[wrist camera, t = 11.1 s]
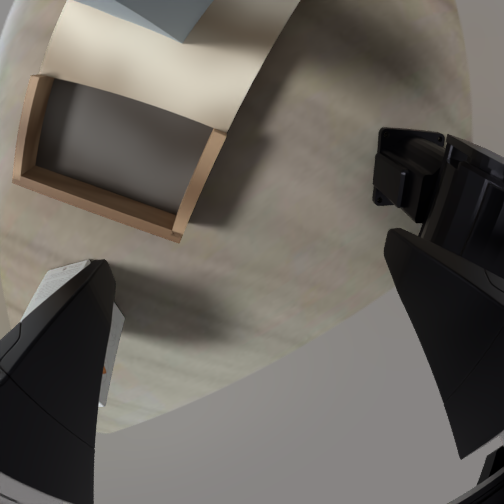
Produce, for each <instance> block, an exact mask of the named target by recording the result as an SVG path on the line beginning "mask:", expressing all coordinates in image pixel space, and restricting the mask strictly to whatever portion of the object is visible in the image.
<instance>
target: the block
mask: <svg viewBox="0 0 504 504" xmlns="http://www.w3.org/2000/svg"><path fill="white" fill-rule="evenodd" d="M74 1H77V2H79V3H82V4H85V5H88V6H90V7H93V8H95V9H98V10H100V11H103V12H105V13H108V14H110V15H112V16H115V17H118V18H120V19H123V20H126V21H129V22H132V23H134V24H137V25H140V26H142V27H145V28H147V29H150V30H152V31H155V32H157V33H159V34H162V35H164V36H166V37H169V38H171V39H173V40H175V41H177V42H180V43H183V42H184V40H185V39H186V37H187V36H188V34H189V33H190V32H191V30H192V29H193V27H194V26H195V25H196V23H197V22H198V20H199V19H200V18H201V16H202V15H203V14H204V12H205V11H206V10H207V8H208V7H209V6H210V4H211V3H212V2H213V1H214V0H74Z"/></svg>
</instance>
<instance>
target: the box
mask: <svg viewBox="0 0 504 504" xmlns="http://www.w3.org/2000/svg"><path fill="white" fill-rule="evenodd" d="M299 2H300V0H214V1H213V2H212V3H211V4H210V6H209V7H208V8H207V10H206V11H205V12H204V14H203V15H202V16H201V18H200V19H199V20H198V22H197V23H196V25H195V26H194V27H193V29H192V30H191V32H190V33H189V34H188V36H187V37H186V39H185V40H184V42H183V43H180V42H177V41H175V40H173V39H171V38H169V37H166V36H164V35H162V34H159V33H157V32H155V31H152V30H150V29H147V28H145V27H142V26H140V25H137V24H134V23H132V22H129V21H126V20H123V19H120V18H118V17H115V16H112V15H110V14H108V13H105V12H103V11H100V10H98V9H95V8H93V7H90V6H88V5H85V4H82V3H79V2H77V1H74V0H67V2H66V4H65V6H64V8H63V10H62V13H61V15H60V17H59V19H58V22H57V24H56V27H55V29H54V32H53V34H52V37H51V39H50V42H49V45H48V47H47V50H46V53H45V56H44V59H43V62H42V65H41V68H40V72H39V74H38V75H32V76H31V77H30V80H29V84H28V88H27V92H26V96H25V100H24V104H23V109H22V114H21V119H20V124H19V130H18V136H17V143H16V150H15V158H14V168H13V179H12V183H14V184H17V185H19V186H22V187H24V188H27V189H30V190H32V191H35V192H38V193H40V194H43V195H46V196H48V197H51V198H54V199H57V200H59V201H62V202H65V203H67V204H70V205H73V206H76V207H78V208H81V209H84V210H86V211H89V212H92V213H95V214H97V215H100V216H103V217H106V218H109V219H111V220H114V221H117V222H120V223H122V224H125V225H128V226H131V227H134V228H137V229H139V230H142V231H145V232H148V233H151V234H153V235H156V236H159V237H162V238H165V239H168V240H171V241H173V242H176V243H180V241H181V238H182V236H183V233H184V231H185V228H186V226H187V224H188V221H189V219H190V216H191V214H192V212H193V209H194V207H195V205H196V202H197V200H198V198H199V195H200V193H201V191H202V189H203V186H204V184H205V182H206V180H207V178H208V175H209V173H210V171H211V169H212V167H213V164H214V162H215V160H216V158H217V156H218V154H219V152H220V149H221V147H222V145H223V143H224V141H225V139H226V137H227V131H228V129H229V127H230V125H231V123H232V121H233V119H234V117H235V115H236V113H237V111H238V109H239V107H240V105H241V103H242V101H243V99H244V97H245V96H246V94H247V92H248V90H249V88H250V86H251V84H252V82H253V80H254V79H255V77H256V75H257V73H258V71H259V69H260V68H261V66H262V64H263V62H264V60H265V59H266V57H267V55H268V53H269V52H270V50H271V48H272V46H273V45H274V43H275V41H276V39H277V38H278V36H279V34H280V33H281V31H282V29H283V28H284V26H285V24H286V23H287V21H288V19H289V18H290V16H291V14H292V13H293V11H294V10H295V8H296V6H297V5H298V3H299Z"/></svg>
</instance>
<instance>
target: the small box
mask: <svg viewBox="0 0 504 504" xmlns="http://www.w3.org/2000/svg"><path fill="white" fill-rule="evenodd" d="M90 263H91V262H90V260H85V261H81V262H77V263H74V264H70V265H66V266H63V267H59V268H55V269H52V270H48V272H47V273H46V275H45V277H44V278H43V280H42V282H41V283H40V285H39V287H38V289H37V290H36V292H35V294H34V296H33V298H32V299H31V301H30V303H29V305H28V307H27V309H26V311H25V313H24V315H23V317H22V319H21V321H20V322H22V320H23V319H24V318H25V317H26V316H27V315H28V314H30V313H31V312H32V311H33V310H34V309H35V308H36V307H38V306H39V305H40V304H41V303H42V302H43V301H45V300H46V299H47V298H48V297H49V296H50V295H52V294H53V293H54V292H55V291H56V290H58V289H59V288H60V287H61V286H62V285H64V284H65V283H66V282H67V281H69V280H70V279H71V278H72V277H74V276H75V275H76V274H77V273H79V272H80V271H81V270H82V269H84V268H85V267H86V266H88V265H89V264H90ZM124 321H125V318H124V316H123V315H122V313H121V312H120V310H119V309H118V307H117V305H116V304H115V302H114V304H113V313H112V323H111V330H110V335H109V340H108V346H107V351H106V357H105V363H104V369H103V375H102V382H101V389H100V397H99V405H98V407H104V406H105V405H106V401H107V395H108V390H109V385H110V380H111V376H112V371H113V366H114V362H115V357H116V353H117V349H118V344H119V340H120V336H121V332H122V328H123V324H124Z"/></svg>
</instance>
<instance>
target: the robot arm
mask: <svg viewBox="0 0 504 504" xmlns="http://www.w3.org/2000/svg"><path fill="white" fill-rule="evenodd" d="M385 132H387V135H386V136H385V137H384V133H385ZM439 137H440V138H439ZM438 138H439V140H438ZM446 142H447V145H446V149H444V148H443V146H444V136H443V134H441V133H438V132H431V131H422V130H412V129H401V128H388V127H383V128H381V129H380V131H379V137H378V150H377V154H376V156H375V166H374V177H373V185H374V191H373V202H374V203H375V204H376V205H377V206H384V205H395V206H396V207H397V208H401V209H402V210H403V211H404V212H405V213H406V214H407V215H408V216H409V217H410V218H411V219H412V220H413V221H414V222H415V223H422V227H421V230H420V233H419V235H418V236H417V235H415V234H412V233H410V232H408V231H406V230H403V229H401V228H395V229H390V230H389V231H388V233H387V238H386V242H385V247H384V257H385V260H386V263H387V265H388V268H389V270H390V273H391V275H392V278H393V281H394V283H395V286H396V289H397V291H398V294H399V296H400V298H401V301H402V303H403V305H404V307H405V309H406V311H407V313H408V315H409V318H410V320H411V322H412V324H413V327H414V329H415V331H416V333H417V336H418V338H419V340H420V342H421V345H422V348H423V350H424V352H425V355H426V357H427V360H428V362H429V365H430V367H431V370H432V373H433V375H434V378H435V380H436V383H437V386H438V389H439V391H440V394H441V397H442V400H443V403H444V407H445V410H446V413H447V416H448V419H449V422H450V425H451V429H452V432H453V436H454V439H455V442H456V446H457V450H458V454H459V457H460V459H463V458H465V457H466V456H468V455H470V454H472V453H473V452H475V451H476V450H478V449H480V448H481V447H483V446H484V445H486V444H487V443H489V442H490V441H492V440H493V439H495V438H496V437H498V436H500V439H501V441H502V444H503V445H502V446H501V447H499V448H498V449H496V450H495V451H494V452H492V453H491V454H489V455H488V456H487V458H486V460H485V464H484V467H483V469H482V472H481V475H480V478H479V481H478V483H477V486H476V487H474V488H473V489H471V490H470V491H468V492H466V493H465V494H463V495H462V496H460V497H458V498H456V499H455V500H453V501H451V502H449V503H448V504H504V158H503V157H501V156H500V155H498V154H496V153H494V152H492V151H490V150H488V149H485V148H483V147H481V146H478V145H476V144H473V143H471V142H468V141H466V140H463V139H460V138H458V137H455V136H452V135H449V134H447V138H446ZM378 198H380V200H379V201H377V199H378ZM115 288H116V283H115V279H114V277H113V274H112V272H111V269H110V267H109V264H108V262H107V261H106V260H105V259H102V260H95V261H93V262H91V263H90V264H89V265H88V266H86V267H85V268H84V269H82V270H81V271H80V272H79V273H77V274H76V275H75V276H74V277H72V278H71V279H70V280H69V281H67V282H66V283H65V284H64V285H62V286H61V287H60V288H59V289H58V290H56V291H55V292H54V293H53V294H52V295H50V296H49V297H48V298H47V299H46V300H45V301H43V302H42V303H41V304H40V305H39V306H38V307H36V308H35V309H34V310H33V311H32V312H31V313H30V314H28V315H27V316H26V317H25V318H24V319H23V320H22V322H19V323H18V324H17V325H16V326H15V327H14V328H13V329H12V330H11V331H10V332H8V333H7V334H6V335H5V336H4V337H3V338H2V339H1V340H0V504H63V502H67V503H69V504H94V501H93V499H94V498H93V497H94V494H93V491H94V489H93V488H94V486H93V485H94V453H95V449H94V448H95V436H96V424H97V414H98V405H99V397H100V389H101V382H102V375H103V369H104V363H105V357H106V351H107V346H108V340H109V335H110V330H111V323H112V313H113V304H114V296H115Z"/></svg>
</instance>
